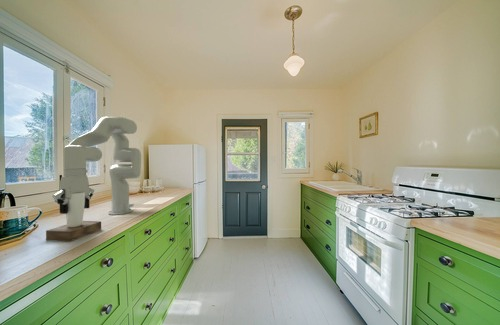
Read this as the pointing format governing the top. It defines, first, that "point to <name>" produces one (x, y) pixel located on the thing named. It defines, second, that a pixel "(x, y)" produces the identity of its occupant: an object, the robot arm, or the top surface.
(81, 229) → the walnut block
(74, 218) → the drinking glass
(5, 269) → the top surface
